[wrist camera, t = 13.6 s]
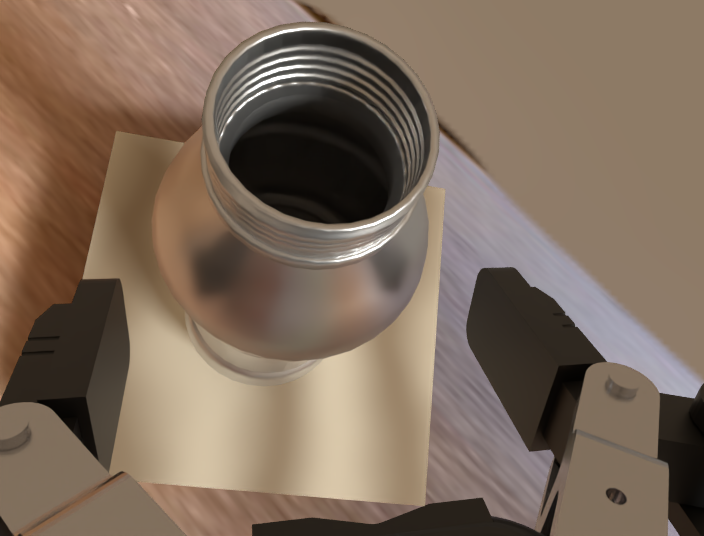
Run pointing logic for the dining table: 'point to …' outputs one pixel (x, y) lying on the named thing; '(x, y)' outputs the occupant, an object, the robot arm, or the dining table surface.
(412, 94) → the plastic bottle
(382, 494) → the oak pedestal
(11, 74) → the dining table surface
